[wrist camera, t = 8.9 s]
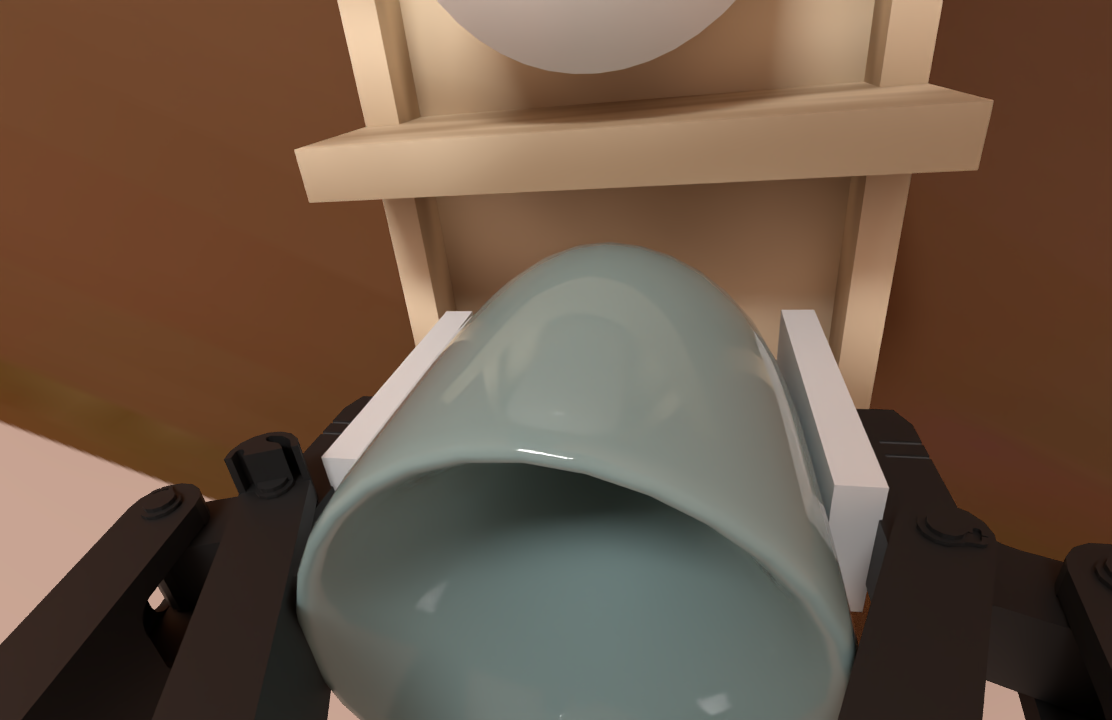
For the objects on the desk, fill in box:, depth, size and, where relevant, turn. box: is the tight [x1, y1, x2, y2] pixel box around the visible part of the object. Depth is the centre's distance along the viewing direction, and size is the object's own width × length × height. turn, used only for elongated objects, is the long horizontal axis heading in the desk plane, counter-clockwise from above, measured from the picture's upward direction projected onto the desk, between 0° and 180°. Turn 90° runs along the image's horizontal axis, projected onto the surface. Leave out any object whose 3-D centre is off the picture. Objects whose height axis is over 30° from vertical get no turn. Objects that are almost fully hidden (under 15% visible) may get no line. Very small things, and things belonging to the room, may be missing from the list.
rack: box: [294, 0, 994, 409], centre depth 15 cm, size 23×14×6 cm, turn 5°
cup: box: [296, 242, 858, 720], centre depth 13 cm, size 8×8×10 cm
